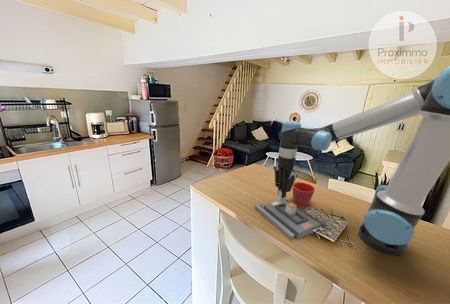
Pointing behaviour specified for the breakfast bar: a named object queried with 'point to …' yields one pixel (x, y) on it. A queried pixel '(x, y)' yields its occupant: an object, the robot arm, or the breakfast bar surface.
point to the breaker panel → (293, 219)
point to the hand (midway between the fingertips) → (280, 202)
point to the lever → (291, 208)
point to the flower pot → (302, 193)
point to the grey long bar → (276, 222)
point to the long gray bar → (310, 216)
